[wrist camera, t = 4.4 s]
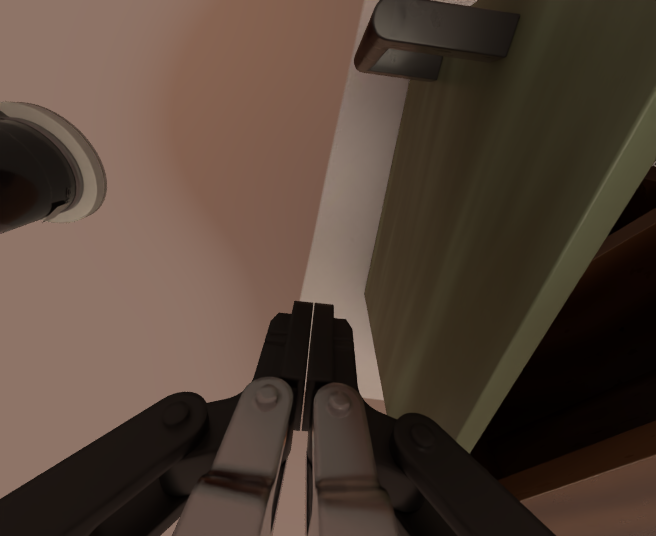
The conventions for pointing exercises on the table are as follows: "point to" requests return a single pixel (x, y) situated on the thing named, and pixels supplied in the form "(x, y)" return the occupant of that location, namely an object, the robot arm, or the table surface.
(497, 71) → the door
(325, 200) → the table surface
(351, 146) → the table surface
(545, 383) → the cupboard
